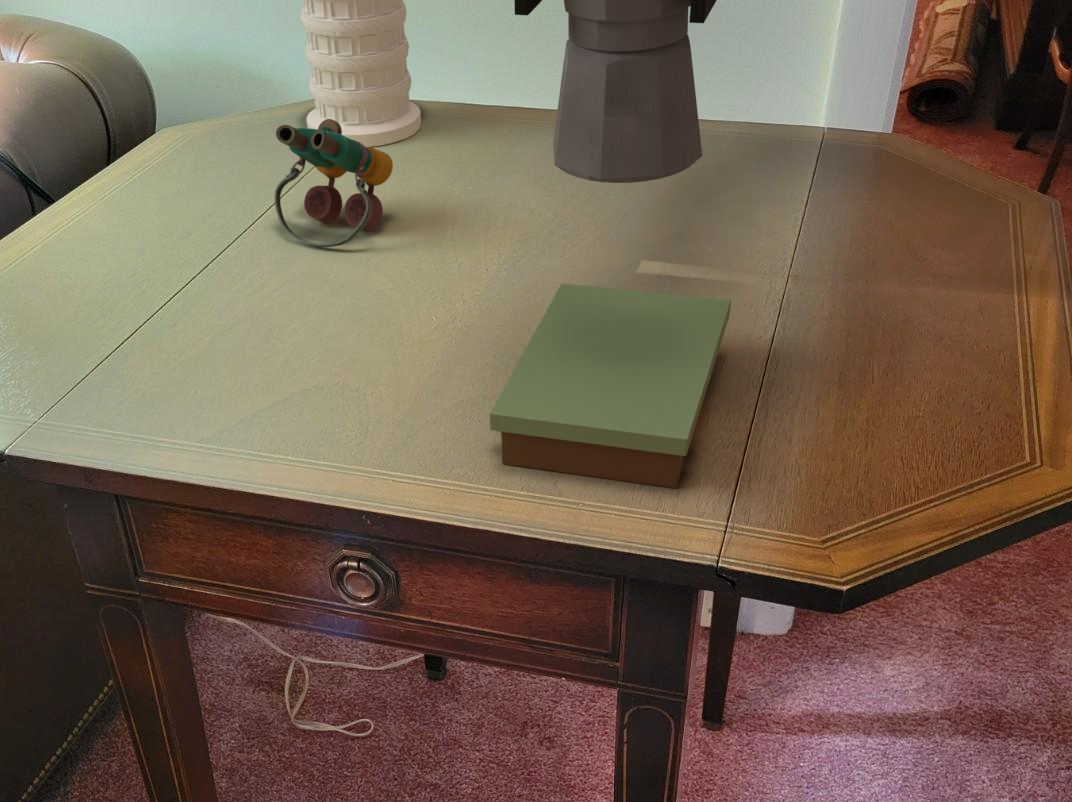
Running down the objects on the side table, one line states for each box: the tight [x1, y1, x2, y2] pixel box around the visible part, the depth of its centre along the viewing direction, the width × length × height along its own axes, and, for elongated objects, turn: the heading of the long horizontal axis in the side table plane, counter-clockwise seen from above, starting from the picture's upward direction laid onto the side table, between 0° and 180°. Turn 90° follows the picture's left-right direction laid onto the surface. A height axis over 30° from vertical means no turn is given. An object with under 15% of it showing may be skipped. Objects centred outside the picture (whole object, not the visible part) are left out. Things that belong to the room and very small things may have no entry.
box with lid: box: [489, 283, 732, 489], centre depth 80 cm, size 12×18×4 cm, turn 163°
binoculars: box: [273, 119, 394, 248], centre depth 101 cm, size 9×9×10 cm
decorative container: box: [300, 0, 422, 148], centre depth 118 cm, size 12×12×18 cm
